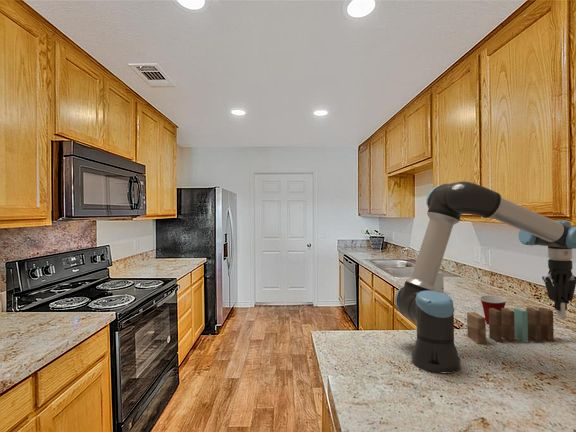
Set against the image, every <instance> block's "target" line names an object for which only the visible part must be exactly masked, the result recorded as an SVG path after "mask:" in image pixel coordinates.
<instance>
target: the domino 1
mask: <svg viewBox="0 0 576 432" xmlns="http://www.w3.org/2000/svg"><path fill="white" fill-rule="evenodd" d="M488 330H489V337H488V338H489V339H491V340H492V341H494V342H496V343H502V342H503V338H502V317H501V311H499V310H497V309H495V308H489V324H488Z"/></svg>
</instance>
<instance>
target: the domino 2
mask: <svg viewBox="0 0 576 432" xmlns="http://www.w3.org/2000/svg"><path fill="white" fill-rule="evenodd" d="M501 317H502V340H503V339H504V340H505V341H506V342H508V343H515V342H516V338H515V322H514V310H512V309H510V308H507V307H504V308H501Z"/></svg>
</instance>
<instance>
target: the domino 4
mask: <svg viewBox="0 0 576 432" xmlns="http://www.w3.org/2000/svg"><path fill="white" fill-rule="evenodd" d="M525 308H526V309H525V311H527V321H528V340H531V341H532V342H533V341H534V342H536V343H539V342H540V343H541V340H542V338H541V329H540V311H539V309H536V308H533V307H525Z"/></svg>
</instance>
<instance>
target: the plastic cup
mask: <svg viewBox="0 0 576 432" xmlns="http://www.w3.org/2000/svg"><path fill="white" fill-rule="evenodd" d="M479 301H480V302H481V305H482V309H483V315H484V318H486V325H489V308H495V309H497V310H499V311H501V308H506V307H505V306H506V303H507V302H508V299H507V298H506V297H503V296H500V295H494V294H493V295H492V294H486V295H481V296H479Z"/></svg>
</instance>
